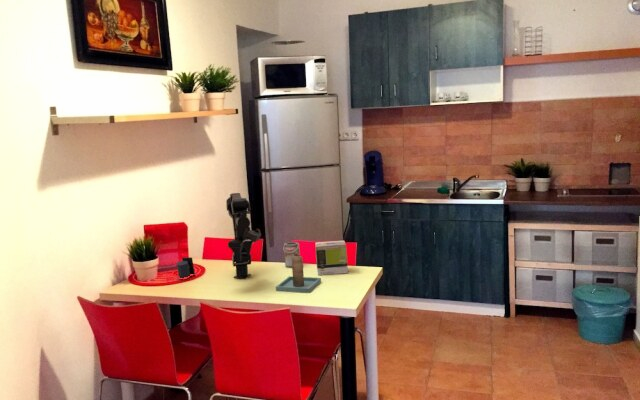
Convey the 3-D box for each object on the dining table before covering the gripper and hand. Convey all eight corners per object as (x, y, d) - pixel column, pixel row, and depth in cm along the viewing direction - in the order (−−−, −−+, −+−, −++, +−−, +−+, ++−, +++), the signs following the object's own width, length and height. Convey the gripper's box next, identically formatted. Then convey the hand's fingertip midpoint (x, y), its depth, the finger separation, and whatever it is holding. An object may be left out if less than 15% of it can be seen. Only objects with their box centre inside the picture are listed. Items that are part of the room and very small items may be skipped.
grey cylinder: (298, 268, 282) (296, 245, 280) (282, 268, 284) (281, 245, 282) (302, 263, 291) (301, 241, 289) (287, 263, 293) (285, 241, 291)
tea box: (346, 268, 278) (345, 239, 276) (348, 273, 268) (346, 244, 266) (316, 270, 278) (315, 241, 275) (317, 275, 268) (315, 246, 265)
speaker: (187, 274, 281) (184, 255, 278) (195, 276, 278) (192, 257, 275) (176, 280, 275) (173, 260, 272) (184, 282, 272) (181, 262, 269)
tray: (289, 280, 262) (289, 276, 262) (321, 282, 257) (320, 277, 257) (275, 290, 247) (275, 286, 247) (309, 292, 242) (308, 288, 242)
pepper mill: (292, 284, 254) (290, 257, 252) (303, 283, 255) (301, 255, 253) (294, 287, 249) (292, 259, 247) (305, 286, 250) (303, 258, 248)
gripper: (248, 229, 243) (250, 264, 246) (265, 221, 261) (268, 253, 263) (225, 229, 247) (228, 263, 249) (244, 221, 264) (247, 252, 267)
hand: (244, 258), depth 257 cm, fingers open, 9 cm apart
